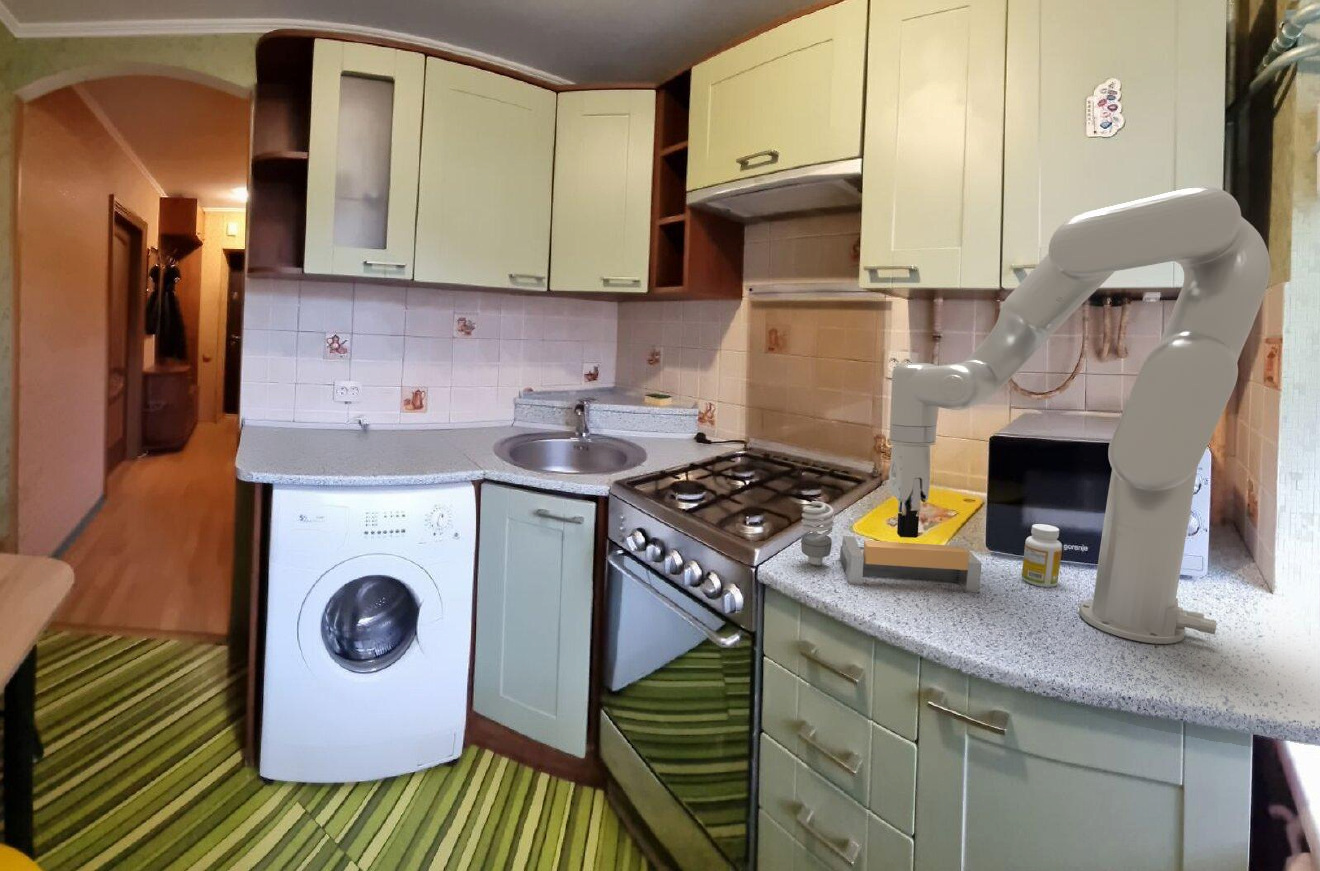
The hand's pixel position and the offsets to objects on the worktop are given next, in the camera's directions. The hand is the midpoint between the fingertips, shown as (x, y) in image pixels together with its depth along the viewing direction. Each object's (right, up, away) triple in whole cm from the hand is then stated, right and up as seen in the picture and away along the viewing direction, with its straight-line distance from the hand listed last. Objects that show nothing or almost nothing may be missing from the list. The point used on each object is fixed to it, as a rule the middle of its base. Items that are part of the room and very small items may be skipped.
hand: (907, 535), depth 115 cm
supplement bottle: (+21, -7, -4) cm, 23 cm away
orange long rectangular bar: (-2, -3, -8) cm, 9 cm away
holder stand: (-1, -6, -2) cm, 7 cm away
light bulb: (-16, -6, +2) cm, 17 cm away
